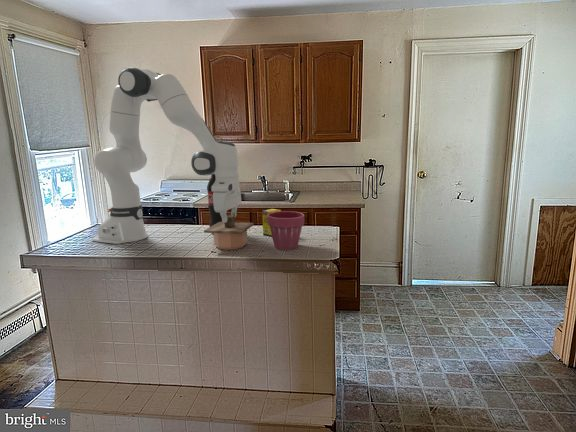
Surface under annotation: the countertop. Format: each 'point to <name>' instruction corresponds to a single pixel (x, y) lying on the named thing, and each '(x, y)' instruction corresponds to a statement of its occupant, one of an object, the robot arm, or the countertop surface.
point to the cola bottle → (214, 215)
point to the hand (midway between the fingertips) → (229, 219)
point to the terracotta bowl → (230, 240)
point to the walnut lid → (229, 227)
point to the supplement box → (265, 226)
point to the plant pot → (285, 228)
